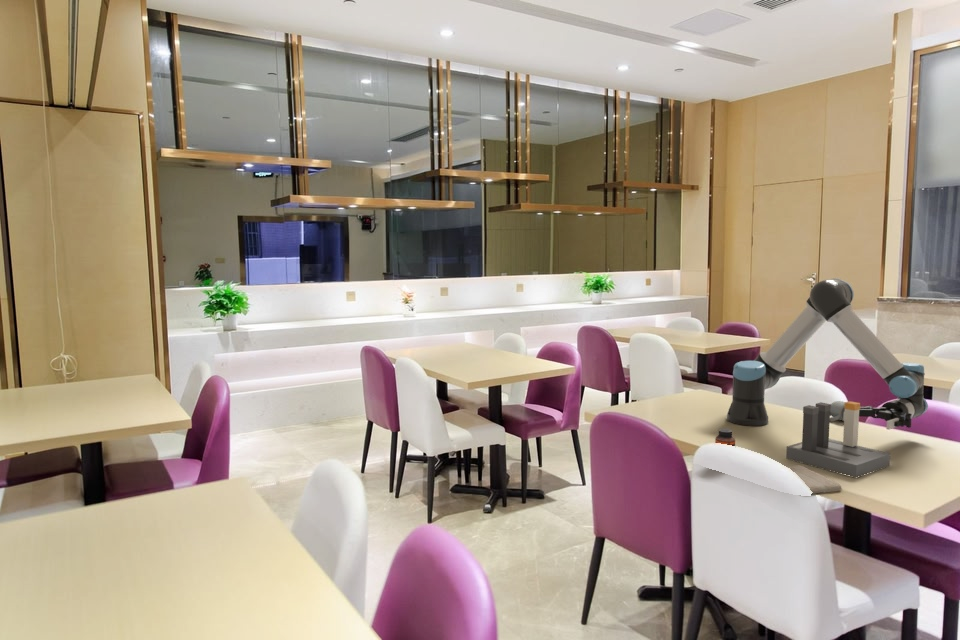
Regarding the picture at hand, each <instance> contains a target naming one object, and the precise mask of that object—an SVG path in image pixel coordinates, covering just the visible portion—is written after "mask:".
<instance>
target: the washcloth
mask: <svg viewBox="0 0 960 640" xmlns="http://www.w3.org/2000/svg"><path fill="white" fill-rule="evenodd" d="M787 467H788V468H790V469H791V470H792V471H793V472H795V473H796V474H797V475H798V476H799V477H800V478H801V479H802V480H803V481H804V482H805V484H806V485H807V486H808V487H809V488H810V490H811V491H812V492H813V494H814V495H815V494H819V493H820V494H821V493H832V492H834V493H835V492H840V491H841V490H843V488H842V485H840V483H838V482H837V481H834V480H832V479H829V478H827V477H826V476H824V475H822V474H819V472H816V471H814V470H811V469H809V468H807V467H805V466H803V465H800V464H799V465H798V464H797V465H792V466H791V465H790V466H787ZM813 494H812V495H813Z"/></svg>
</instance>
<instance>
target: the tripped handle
mask: <svg viewBox="0 0 960 640" xmlns="http://www.w3.org/2000/svg"><path fill="white" fill-rule="evenodd" d="M844 402H845V407H844V409H845V416H844V421H843V433H842V434H843V438H842V442H843V445H847V446H851V447H854V446H857V445H858V440H859V439H858V437H859V419H860V417H859V409H860V407H861V403H860V402H856V401H850V400H849V401H844Z"/></svg>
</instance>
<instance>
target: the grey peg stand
mask: <svg viewBox="0 0 960 640" xmlns="http://www.w3.org/2000/svg"><path fill="white" fill-rule="evenodd" d="M831 404H832V403H828V402H823V401H822V402H821V401H820V402H817V403H815V406H814V405H809V404H808V405H804V406H803V407H802V408H803V409H802V413H803V414H802V415H803V417H802V418H803V419H802V437H801V441H800V442H798V443H794V444H791V445H788V446H786V451H785V453H786V456H785V459H787V460H791V461H793V460H794V462H797V461H798V462H797V463H800V462H801V464H804V463H805V464H804V465H807V464H808V466H811V465H812V466H811V467H814V466H816V467H815V468H818V467H819V469H821V468H823V469H822V470H825V469H827V470H826V471H828V470H831V471H830V472H832V471H835V472H838V473H837V474H839V473H842V474H846V475H850V476H853V477H858V476H861V475H864V474H866V475H868V474H867V473H869V474H871V473H870V472H872V473H874V472H877V471H879V470H878V469H880V470H882V469H885V468H887V466H888V467H890V465H891V452H885V451H884V450H883V451H881V450H879V449H873V448H870V447H866V446H861V445H858V444H857V446H854V447H851V446H847V445H843V441H841V440H836V439H832V438H829V437H830V422H831V421H830V418H831V416H830V410H831ZM884 467H885V468H884ZM881 468H882V469H881ZM876 470H877V471H876ZM873 471H874V472H873ZM835 472H834V473H835ZM842 474H841V475H842ZM846 475H845V476H846ZM864 476H865V475H864ZM853 477H852V478H853ZM861 477H862V476H861ZM858 478H859V477H858Z"/></svg>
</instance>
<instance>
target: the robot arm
mask: <svg viewBox="0 0 960 640" xmlns="http://www.w3.org/2000/svg"><path fill="white" fill-rule="evenodd" d="M853 299H854V290H853V288H852V286H851V285H850V283H848V281H845V280H843V279H841V278H840V279H839V278H830V279H824V280H820V281H818V282H817V283H815V284H814V285H813V286H812V288H811V290H810V293H809V297H808V298H807V300H806V301H805V305H806V307H805V308H804V309H803V311H802V312H801V313H800V314H799V315H798V316H797V317H796V318H795V320H794V321H792V323H791V324H790V325H789V326H788V327H787V328H786V329H785V331H783V333H782V334H781V336H780V337H778V339H776V341H775V342H774V343H773V344H772V345H771V347H770V348H769V349H767V351H761V352H760V353H759V354H758V355H757V356H756V357H755V359H754V360H741V361H739V362H738V361H737V362H736V363H735V364H734V365H733V369H732V370H733V371H732V375H733V376H732V397H731V398H732V401H731V403H730V406H729V408H728V411H727V415H726V420H727V422H730V423H733V424H736V425H741V426H748V427H750V426H752V427H759V426H766V425H768V424H769V415H768V411H767V408H766V405H765V395H766V394H765V391H766V390H767V389H770V388H772V387H774V386H775V385H777V383H778V382H779V381H780V378H781V376H783V374H784V373H785V372H786V370H787V368H786V366H787V364H788V363H789V362H790V361H791V360H792V359H793V358H794V356H795V355H796V354H797V353H798V352H799V351H800V350H801V349H802V348H803V347H804V345H806V343H807V342H808V341H809V340H810V339H811V338H812V337H813V335H815V334H816V332H818V330H819V329H821V327H822V326H823V325H824V324H825V323H826V322H828V323H832V324H833V325H834V326H835V327H836V328H837V329H838V331H839V332H840V333H841V334H842V335H843V336H844V337H845V338H846V339H847V341H849V343H850V344H851V346H853V347H854V348H855V349H856V351H858V353H859V354H860V355H861V357H863V358H864V359H865V360H866V362H867V363H868V364H869V365H870V366H871V367H872V368H873V369H874V370H875V372H876V373H878V375H879V376H880V377H881V379H883V381H884V382H885V383H886V384H887V385H888V389H889V392H890V393H891V394H892V395H893V396H895V397H897V399H894V400H891V401H887V402H885V403H883V404H882V405H881V406H880V407H873V405H868V406H860V409H859V418H860V417H863V418H864V417H867V418H873V419H881V420H884V421H886V427H885V428H886V430H889V431H890V430H892V429H895V428H899V427H901V428H902V427H906V428H908V429H909V428H911V427H912V419H915V418H918V417H920V416H922V415H924V414H925V413H926V412H927V411H928V408H929V405H928V402H927V400H926V399H925V398H924V382H925V366H924V365H923V364H921V363H915V362H903V363H901V362H900V361H899V359H898V358H897V357H896V356H895V355H894V354H893V353H892V352H891V351H890V350H889V348H887V347H886V346H885V344H884V343H883V342H882V340H880V339H879V338H878V337H877V336H876V334H875V333H874V332H873V331H872V330H871V329H870V328H869V327H868V326H867V325H866V324H865V322H864V321H862V319H861V318H860V317H859V316H858V315H857V314H856V313H855V312H854V311H853V308H852V307H853V305H852V301H853ZM844 416H845V412H844ZM844 416H843V420H844Z"/></svg>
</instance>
